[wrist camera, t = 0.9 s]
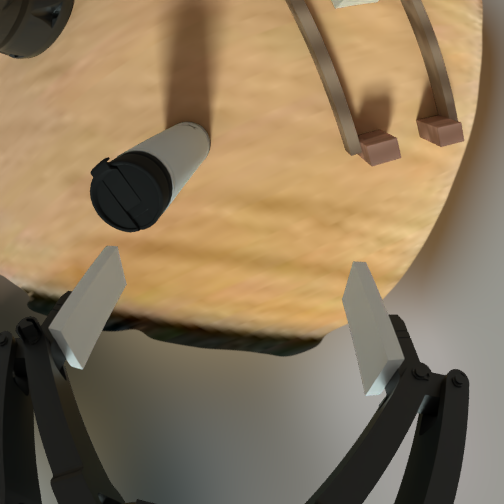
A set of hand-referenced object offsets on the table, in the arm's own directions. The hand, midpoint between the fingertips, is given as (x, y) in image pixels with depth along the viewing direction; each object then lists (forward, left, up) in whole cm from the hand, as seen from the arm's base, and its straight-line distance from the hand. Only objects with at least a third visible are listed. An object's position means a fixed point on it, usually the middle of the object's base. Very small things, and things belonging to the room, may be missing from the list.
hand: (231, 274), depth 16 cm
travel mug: (-5, -7, -26) cm, 27 cm away
